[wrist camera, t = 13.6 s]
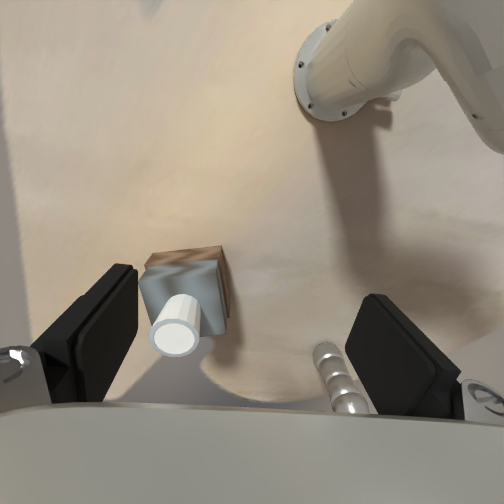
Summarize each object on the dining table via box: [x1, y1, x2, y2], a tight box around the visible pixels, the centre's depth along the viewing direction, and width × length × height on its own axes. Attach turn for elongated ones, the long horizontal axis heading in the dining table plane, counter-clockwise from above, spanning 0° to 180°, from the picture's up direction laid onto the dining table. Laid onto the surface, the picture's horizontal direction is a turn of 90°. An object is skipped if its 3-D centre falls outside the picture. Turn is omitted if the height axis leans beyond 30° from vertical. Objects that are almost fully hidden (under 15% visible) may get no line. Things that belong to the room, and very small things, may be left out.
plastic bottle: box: [313, 343, 369, 414], centre depth 51 cm, size 6×7×20 cm
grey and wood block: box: [138, 246, 230, 337], centre depth 46 cm, size 13×13×10 cm
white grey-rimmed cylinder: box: [149, 294, 201, 357], centre depth 38 cm, size 7×7×7 cm
